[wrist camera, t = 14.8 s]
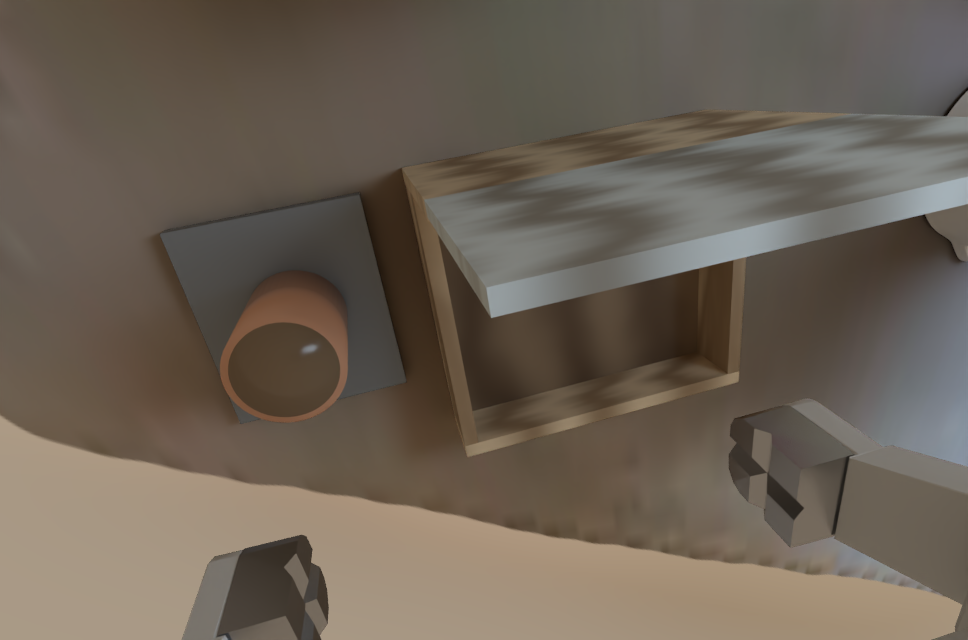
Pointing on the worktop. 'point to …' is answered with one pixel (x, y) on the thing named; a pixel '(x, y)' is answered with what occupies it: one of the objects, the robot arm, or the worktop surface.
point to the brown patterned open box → (643, 250)
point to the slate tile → (284, 247)
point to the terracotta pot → (288, 348)
